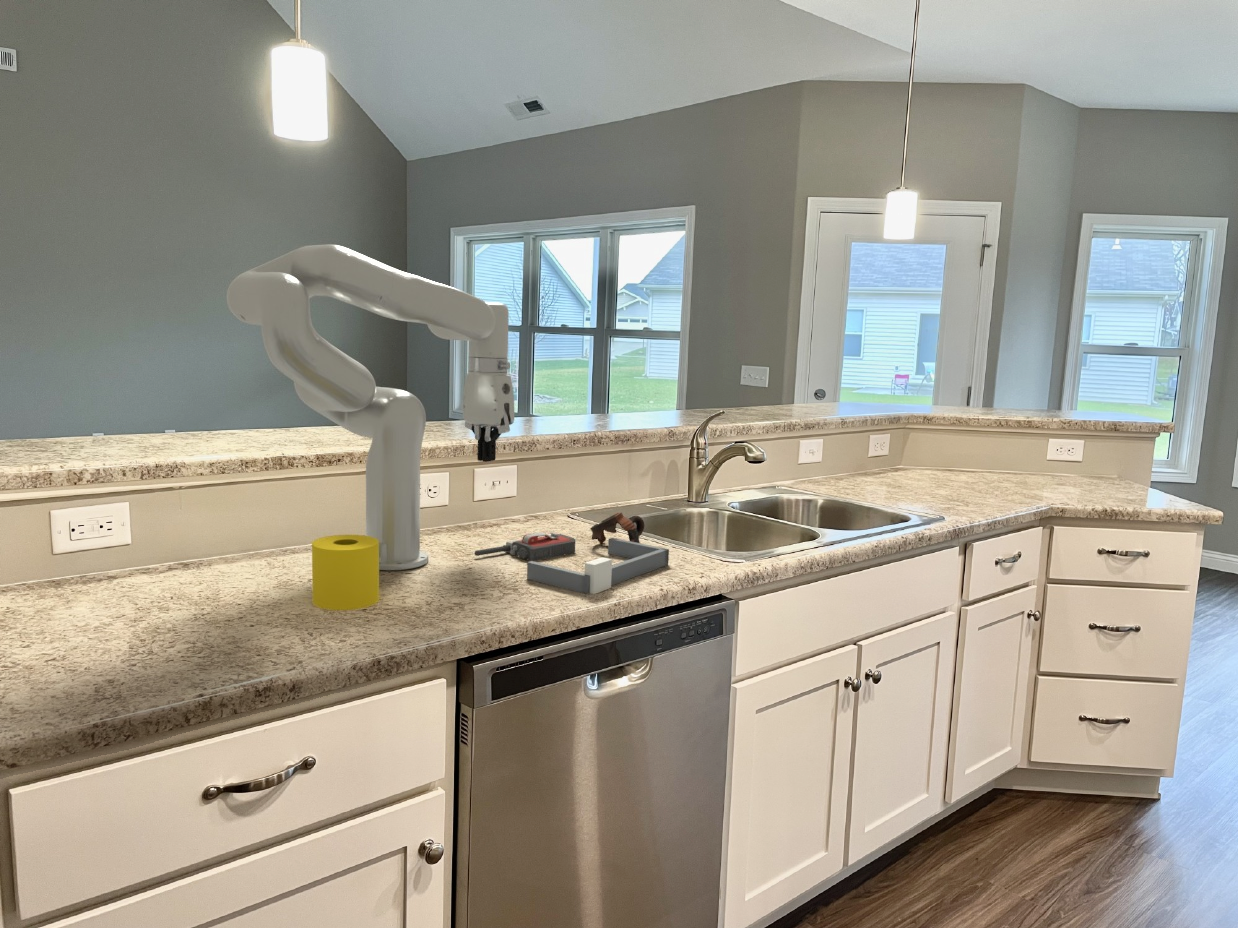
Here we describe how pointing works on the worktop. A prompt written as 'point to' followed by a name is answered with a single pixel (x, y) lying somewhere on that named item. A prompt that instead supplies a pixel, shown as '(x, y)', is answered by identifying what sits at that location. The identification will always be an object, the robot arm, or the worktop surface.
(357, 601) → the yellow toilet paper roll
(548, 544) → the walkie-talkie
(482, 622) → the worktop surface
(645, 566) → the cradle
